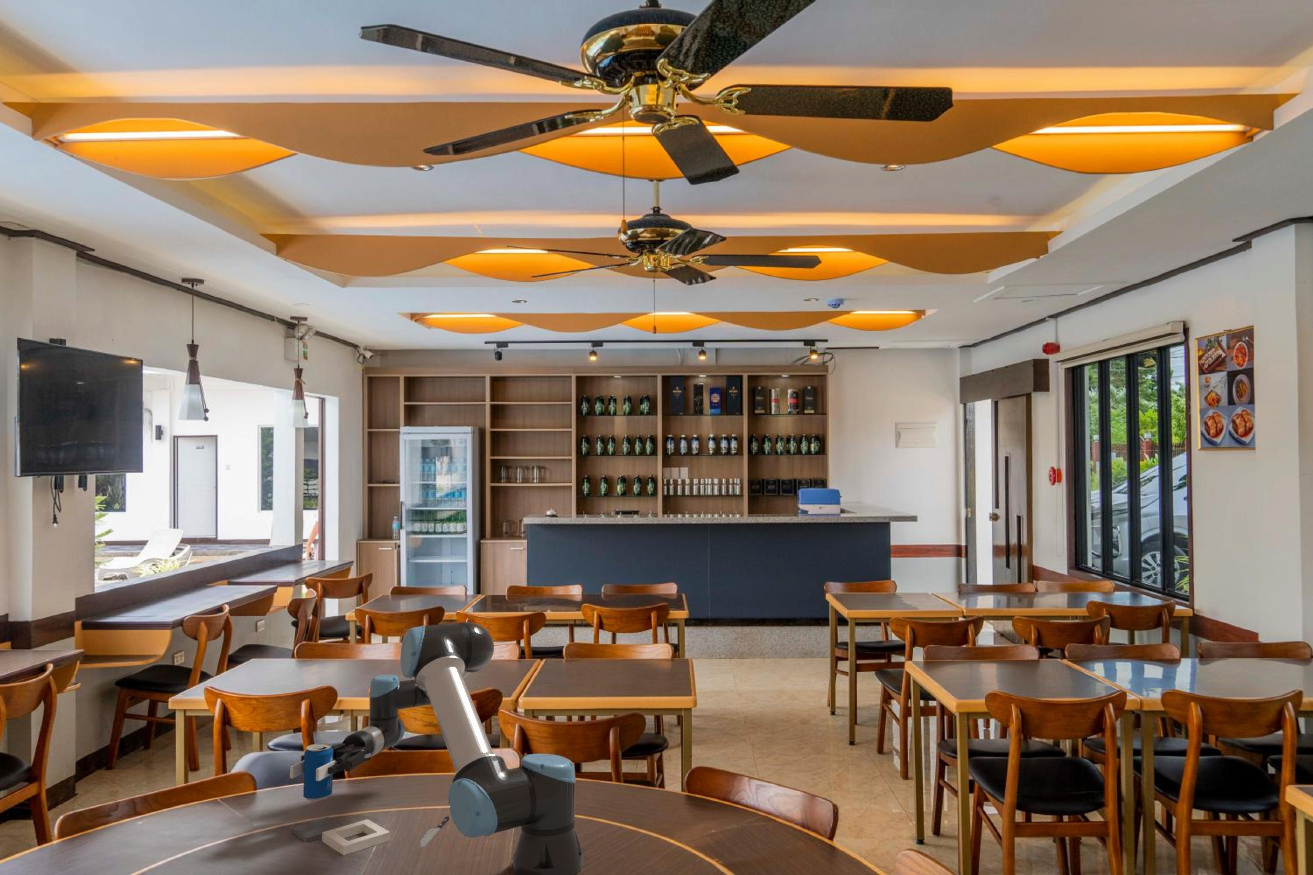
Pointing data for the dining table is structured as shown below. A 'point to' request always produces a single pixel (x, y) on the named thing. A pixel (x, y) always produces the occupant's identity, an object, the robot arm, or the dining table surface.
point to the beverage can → (313, 760)
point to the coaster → (314, 829)
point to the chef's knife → (432, 833)
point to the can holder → (346, 847)
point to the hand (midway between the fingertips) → (304, 773)
